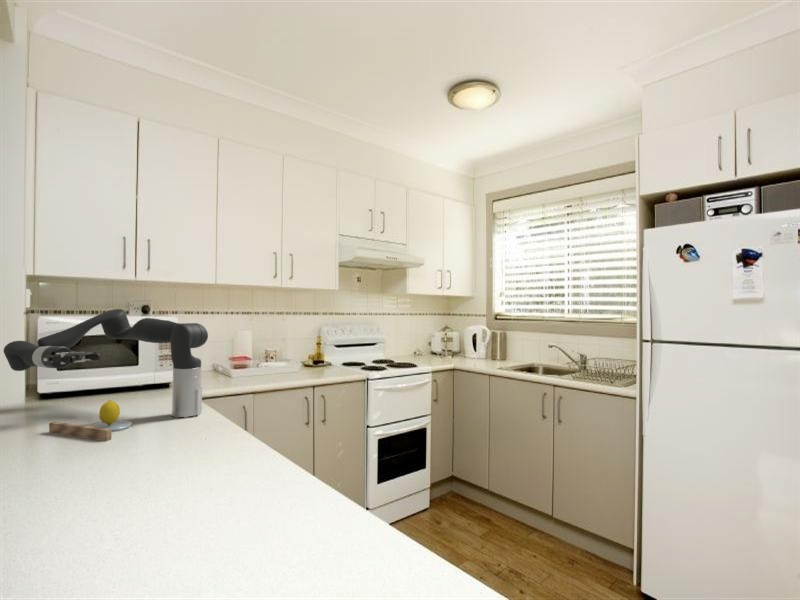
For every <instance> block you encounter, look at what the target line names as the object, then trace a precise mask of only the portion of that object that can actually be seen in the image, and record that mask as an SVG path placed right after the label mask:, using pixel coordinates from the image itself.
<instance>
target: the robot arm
mask: <svg viewBox="0 0 800 600" xmlns="http://www.w3.org/2000/svg"><path fill="white" fill-rule="evenodd" d="M99 325H101V327H102V330H103V333H104V335H105V337H107V338H109V339H115V340H134V341H141V342H144V343H145V342H146V343H152V344H170V359H171V361H172V396H171V397H172V399H171V400H172V401H171V402H172V403H171V404H172V405H171V417H173V416H174V417H173V418H178V417H184V418H189V417H188V416H193V415H198V414H199V413H200V412H201V411H202V410H203V407H202V406H203V405H202V404H203V387H202V386H201V385H202V384H201V383H202V361H201V359H200V358H198V357H195V356H193V354H192V349H198V348H200V347H202V346H204V345H205V344H206V343H207V341H208V338H209V333H208V330H207V329H206V327H205V326H204V325H202V324H200V323H197V322H192V323H191V322H189V323H187V322H186V323H185V322H183V323H180V322H174V321H169V320H164V319H159V318H152V317H145V318H144V317H143V318H141V319H139V320H137V322H135V323H134V325H132V326H131V324H130V322H129V318H128V316H127V313H126V311H125V310H124V309H121V308H114V309H109V310H108V311H107V310H106V311H104V312H102V313H100V314H98V315H95V316H93V317H91V318H88V319H86V320H84V321H82V322H80V323H78V324H76V325H74V326H73V325H72V326H71V327H68V328H66V329H63V330H61V331H59V332H58V331H57V332H54V333H52V334H50V335H47V336H43V337H41V338H39V339H38V340H37V342H36V343H37V344H35V343H32V342H30V341H26V340H14V341H10V342H8V343H7V344H6V345H5V346H4V348H3V354H4V356H5V359H6V360H7V362H8V365H9V366H10V368H11V370H13V371H16V372H21V371H26V370H29V369H30V368H33V367H37V368H43V369H44V368H45V369H64V368H66V367H68V366H69V365H70V364H75V363H84V362H86V361H100V360H101V354H100V353H97V352H95V351H93V352H90V351H88V352H87V351H72V350H71V349H70V348H72V347H74V346H76V344H78V343H79V342H80V340H81V339H83V337H84V336H85V335H86V334H87V333H88V332H89V331H91V330H92V329H93V328H95V327H97V326H99ZM80 359H81V360H80ZM202 412H203V411H202ZM202 412H201V413H202ZM201 413H200V414H201ZM200 414H199V415H200ZM199 415H198V416H199ZM193 417H194V416H193Z"/></svg>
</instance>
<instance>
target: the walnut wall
mask: <svg viewBox="0 0 800 600" xmlns="http://www.w3.org/2000/svg"><path fill="white" fill-rule="evenodd" d="M48 427H49V429H48V433H49V432H50V433H51V434H55V433H57V434H56V435H62V434H64V436H69V435H71V436H70V437H76V438H85V439H90V440H91V439H92V440H97V441H104V442H105V441H106V442H107V441H111V440H112V433H113V432H112V429H106V428H98V427H91V426H90V425H89V426H88V425H82V424H74V423H66V422H60V421H51V422H49V425H48ZM50 433H49V434H50Z"/></svg>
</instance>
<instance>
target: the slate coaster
mask: <svg viewBox="0 0 800 600" xmlns="http://www.w3.org/2000/svg"><path fill="white" fill-rule="evenodd" d="M89 426H91V427H98V428H106V429H112V433H113V432H114V433H115V432H120V431H124V430H126V428H127V429H129V427H130V426H131V427H132V422H131V421H129V420H116V421H115V422H113V423H112V424H111V425H107V424H106V423H103V422H102V421H101V422H97V423H94V424H91V425H89ZM131 427H130V428H131ZM123 429H124V430H123Z"/></svg>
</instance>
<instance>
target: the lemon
mask: <svg viewBox="0 0 800 600" xmlns="http://www.w3.org/2000/svg"><path fill="white" fill-rule="evenodd" d="M120 413H121V410H120V406H119V404H118V403H117V402H116V401H112V400H109V399H108V401H106V402H105V403H103V404H102V405H101V406H100V410H99V414H98V415H99V420H100V421H101V422H103V423H106V424H107V425H111V424H112V423H113V422H115V421H118V419H119V417H120Z"/></svg>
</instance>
